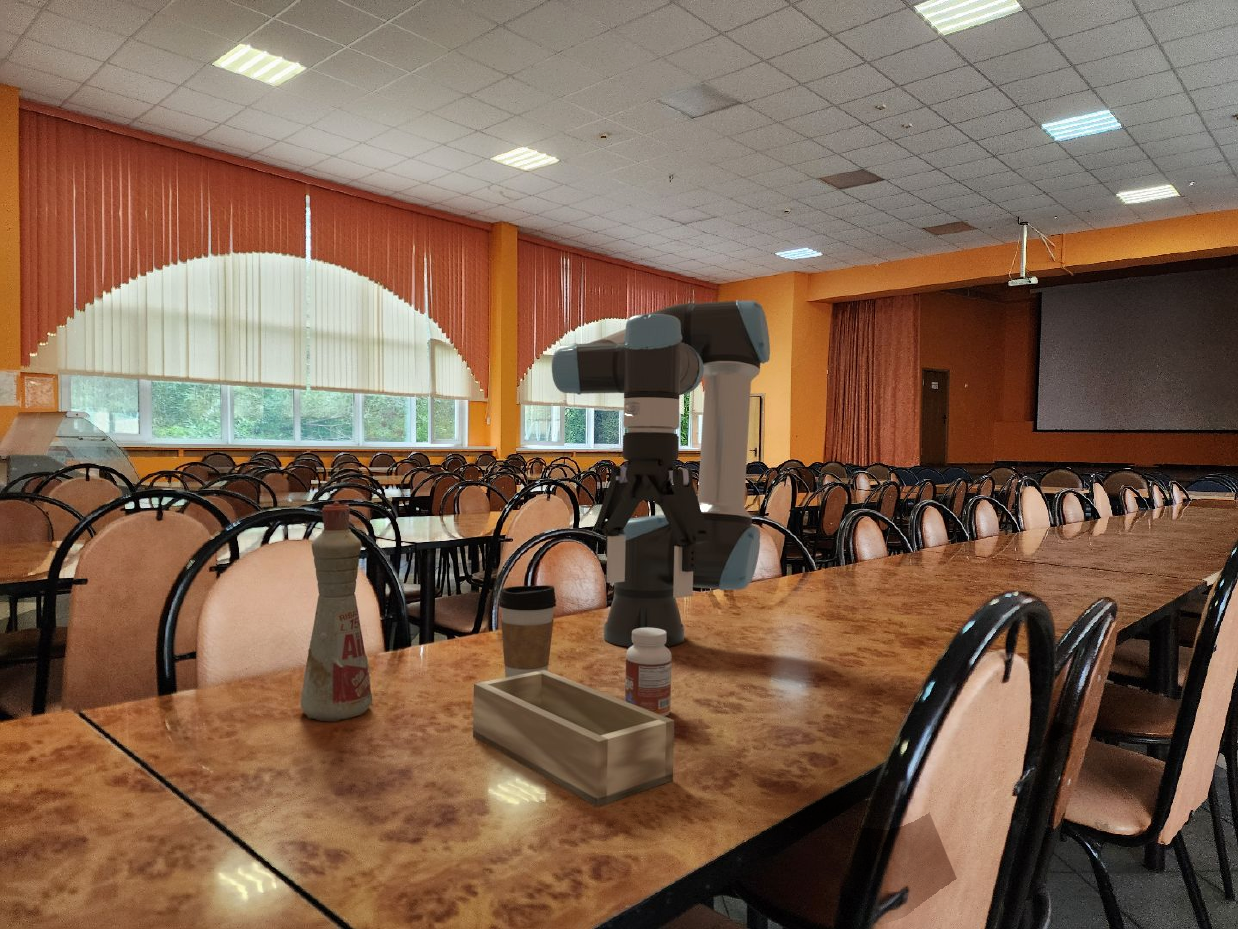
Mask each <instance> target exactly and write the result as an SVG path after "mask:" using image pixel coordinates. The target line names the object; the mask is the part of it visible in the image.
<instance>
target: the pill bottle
mask: <svg viewBox="0 0 1238 929" xmlns="http://www.w3.org/2000/svg"><path fill="white" fill-rule="evenodd" d="M666 640H667V638H666V631H665V630H662V629H658V628H638V629H634V630H633V631H632V642H633V643H634V645H633V646H631V647H628V649H627V650H626V654H625V678H624V679H625V681H624V683H625V686H624V688H625V689H624V701H626V702H628V703H631V704H633V705H636V706H638V707H641V708H644V709H646V710H649V711H651V712H654V713H656V714H659V715H662V716H664V717H666V716H667V717H668V715H669V714H670V712H671V702H672V701H671V700H672V698H671V696H672V695H671V694H672V691H671V690H672V652H671V650H670V649H669V648H668V647H665V646H664V644H665V643H666Z"/></svg>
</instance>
